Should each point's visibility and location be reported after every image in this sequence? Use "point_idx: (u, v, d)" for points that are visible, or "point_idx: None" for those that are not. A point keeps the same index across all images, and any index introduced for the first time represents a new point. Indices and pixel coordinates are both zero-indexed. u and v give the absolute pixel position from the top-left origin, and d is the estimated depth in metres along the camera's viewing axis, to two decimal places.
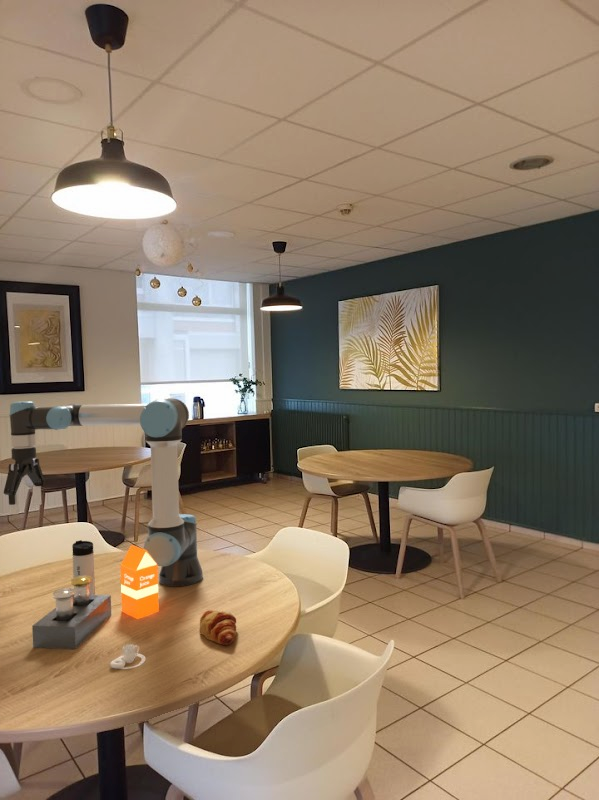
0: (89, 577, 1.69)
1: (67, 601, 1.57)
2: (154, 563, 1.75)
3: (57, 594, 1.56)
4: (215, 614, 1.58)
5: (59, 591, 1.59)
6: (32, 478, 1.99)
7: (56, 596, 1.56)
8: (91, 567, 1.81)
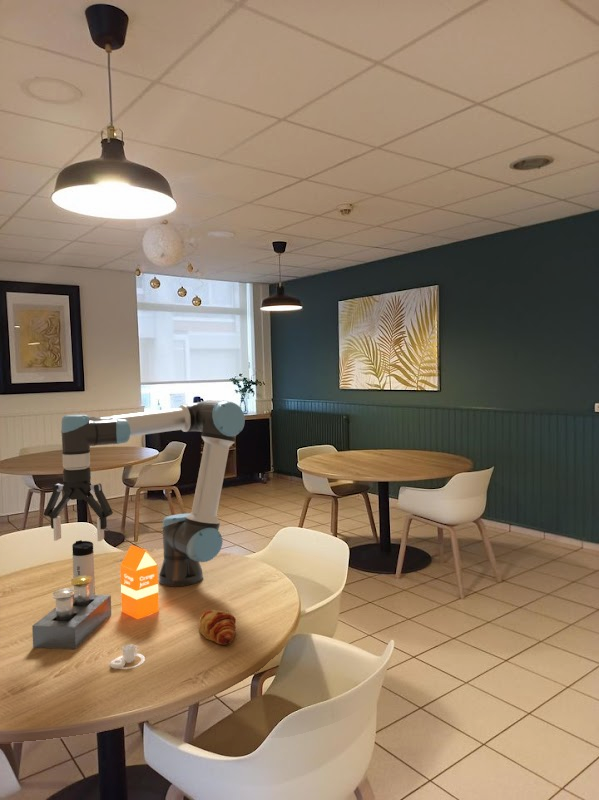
0: (89, 577, 1.69)
1: (67, 601, 1.57)
2: (154, 563, 1.75)
3: (57, 594, 1.56)
4: (214, 614, 1.58)
5: (59, 591, 1.59)
6: None
7: (56, 596, 1.56)
8: (91, 567, 1.81)
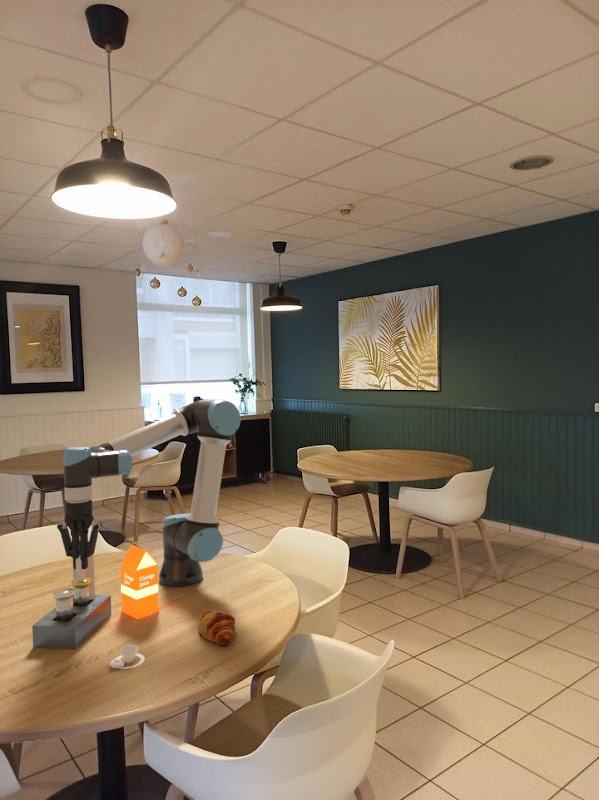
0: (89, 579, 1.69)
1: (67, 601, 1.57)
2: (154, 563, 1.75)
3: (57, 594, 1.56)
4: (214, 614, 1.58)
5: (59, 591, 1.59)
6: None
7: (56, 596, 1.56)
8: (91, 567, 1.81)
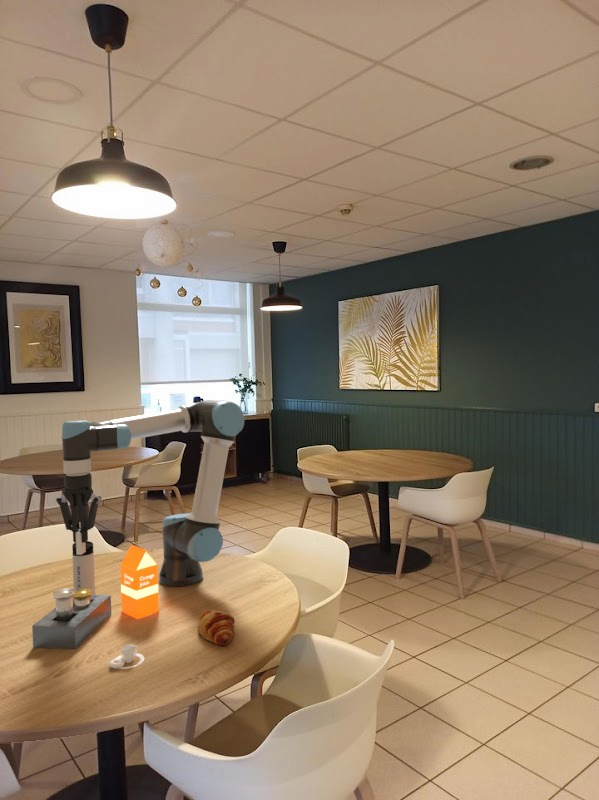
0: (89, 590, 1.69)
1: (67, 601, 1.57)
2: (154, 563, 1.75)
3: (57, 594, 1.56)
4: (213, 614, 1.58)
5: (59, 591, 1.59)
6: None
7: (56, 596, 1.56)
8: (91, 567, 1.81)
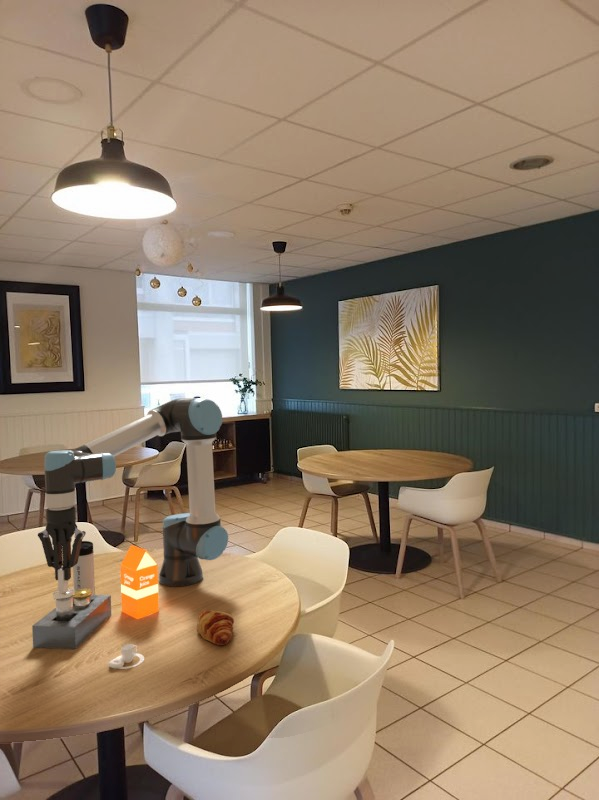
0: (89, 590, 1.69)
1: (67, 601, 1.57)
2: (154, 563, 1.75)
3: (57, 594, 1.56)
4: (212, 614, 1.58)
5: None
6: None
7: (56, 596, 1.56)
8: (91, 567, 1.81)
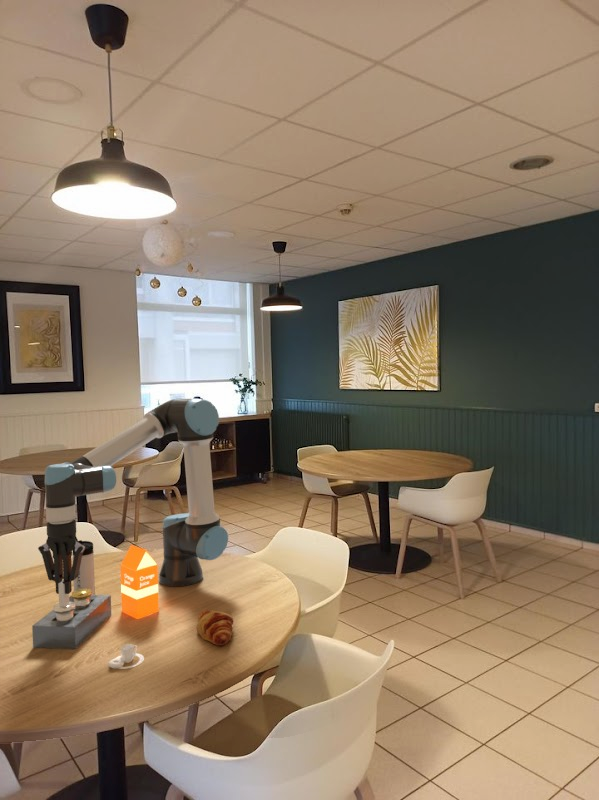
0: (89, 590, 1.69)
1: (68, 615, 1.57)
2: (154, 563, 1.75)
3: (57, 608, 1.57)
4: (211, 614, 1.58)
5: None
6: None
7: (57, 610, 1.56)
8: (91, 567, 1.81)
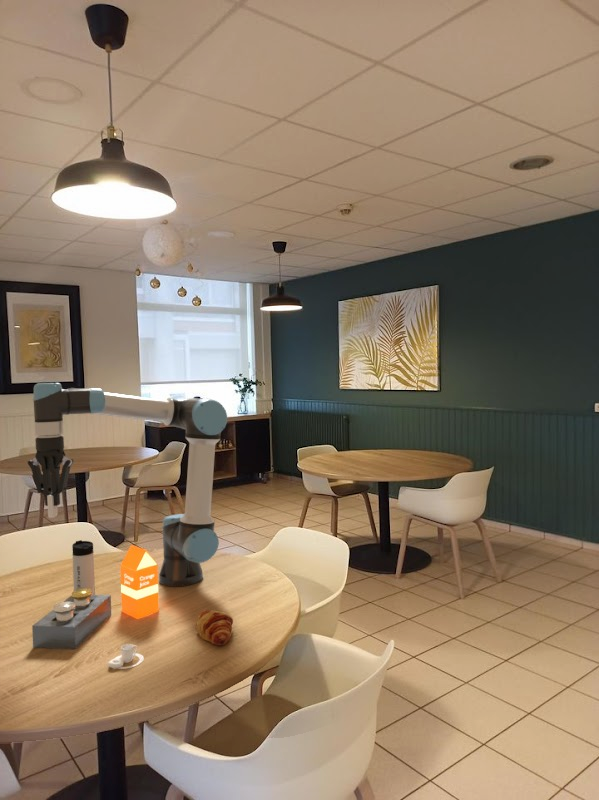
0: (89, 590, 1.69)
1: (68, 615, 1.57)
2: (154, 563, 1.75)
3: (57, 608, 1.57)
4: (211, 614, 1.58)
5: (60, 605, 1.59)
6: None
7: (57, 610, 1.56)
8: (91, 567, 1.81)
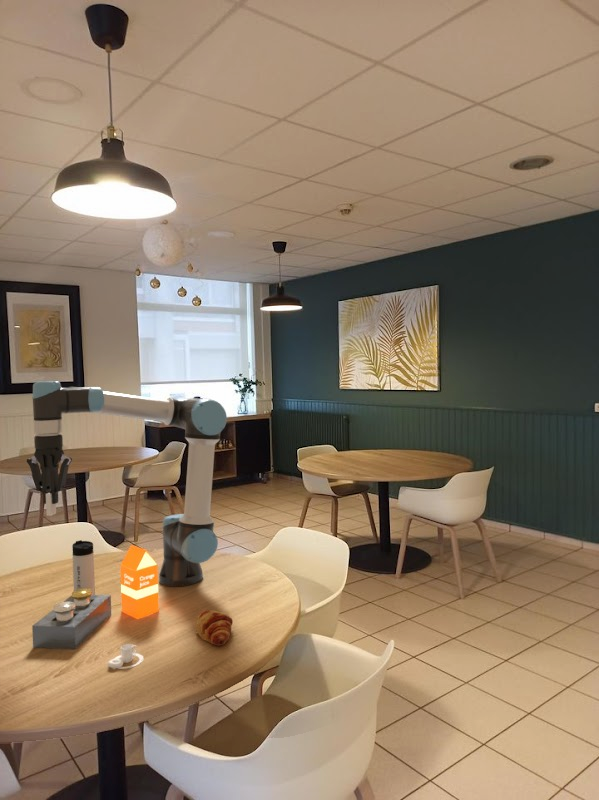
0: (89, 590, 1.69)
1: (68, 615, 1.57)
2: (154, 563, 1.75)
3: (57, 608, 1.57)
4: (210, 614, 1.58)
5: (60, 605, 1.59)
6: None
7: (57, 610, 1.56)
8: (91, 567, 1.81)
